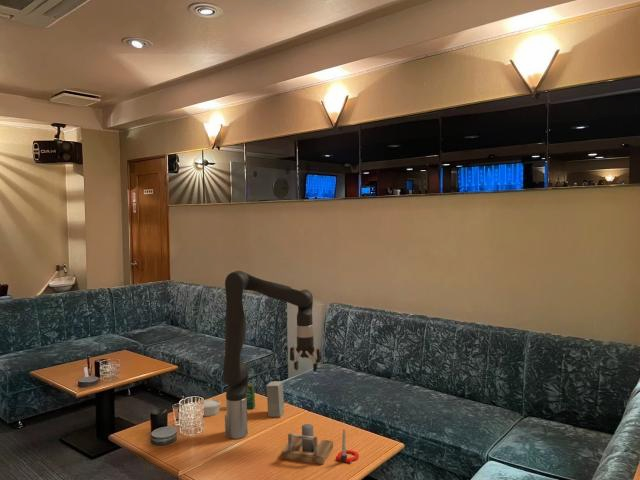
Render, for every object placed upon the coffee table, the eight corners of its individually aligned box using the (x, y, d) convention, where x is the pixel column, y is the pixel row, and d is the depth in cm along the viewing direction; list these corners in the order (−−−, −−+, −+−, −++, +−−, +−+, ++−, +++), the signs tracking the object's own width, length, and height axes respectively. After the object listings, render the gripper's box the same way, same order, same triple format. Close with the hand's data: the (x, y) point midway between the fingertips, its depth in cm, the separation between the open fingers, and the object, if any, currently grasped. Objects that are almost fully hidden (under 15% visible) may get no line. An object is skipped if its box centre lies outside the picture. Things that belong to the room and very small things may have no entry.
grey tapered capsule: (300, 454, 191) (300, 428, 190) (304, 448, 195) (304, 423, 195) (311, 455, 189) (311, 429, 189) (315, 450, 194) (314, 424, 194)
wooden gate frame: (281, 458, 188) (280, 434, 187) (293, 442, 201) (293, 420, 201) (323, 464, 182) (323, 439, 182) (333, 447, 196) (332, 424, 195)
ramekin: (225, 411, 238) (224, 401, 238) (209, 419, 229) (209, 408, 228) (209, 407, 244) (209, 397, 244) (193, 414, 235) (193, 404, 234)
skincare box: (280, 417, 228) (279, 386, 227) (266, 417, 229) (265, 385, 229) (284, 411, 236) (284, 380, 236) (271, 410, 238) (270, 380, 237)
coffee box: (239, 407, 242) (238, 383, 242) (241, 405, 245) (240, 381, 244) (252, 409, 239) (252, 384, 239) (255, 407, 242) (254, 382, 242)
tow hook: (343, 451, 194) (333, 460, 186) (343, 420, 194) (333, 428, 186) (362, 455, 189) (352, 465, 181) (362, 424, 190) (352, 432, 182)
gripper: (287, 336, 204) (288, 372, 204) (317, 337, 199) (318, 374, 200) (293, 332, 211) (294, 367, 211) (322, 333, 207) (323, 369, 207)
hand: (305, 370), depth 206 cm, fingers open, 8 cm apart
